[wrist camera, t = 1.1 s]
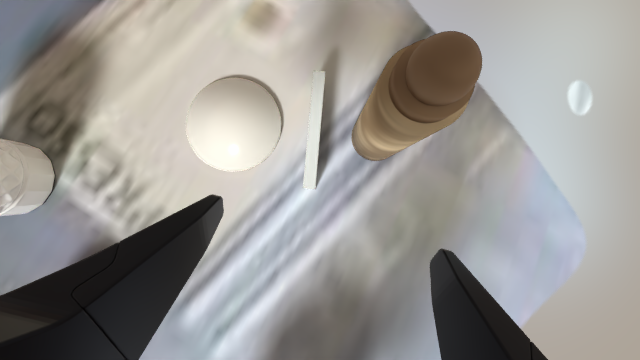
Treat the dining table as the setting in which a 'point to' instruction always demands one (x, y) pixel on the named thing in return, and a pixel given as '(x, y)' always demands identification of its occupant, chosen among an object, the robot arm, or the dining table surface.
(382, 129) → the pepper mill
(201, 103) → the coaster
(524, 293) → the dining table surface
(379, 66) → the dining table surface
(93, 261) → the robot arm
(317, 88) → the divider wall
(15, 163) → the white cup
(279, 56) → the dining table surface
